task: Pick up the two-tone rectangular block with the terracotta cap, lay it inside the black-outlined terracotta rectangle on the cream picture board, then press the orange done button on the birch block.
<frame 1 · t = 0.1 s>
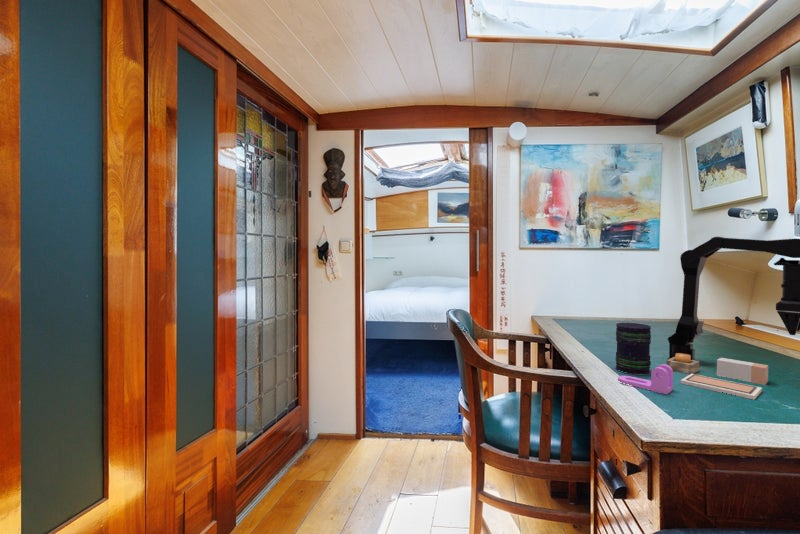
hand: (794, 333, 112), 15 cm above the table, tool pointing down, fingers open, 9 cm apart
two-tone rectangular block: (741, 378, 115), on the table
picture board: (720, 387, 107), on the table
bracket: (643, 387, 109), on the table
storage jar: (632, 371, 123), on the table
button block: (682, 369, 124), on the table
done button: (682, 359, 124), point 3 cm above the table, slide at 0.0 cm
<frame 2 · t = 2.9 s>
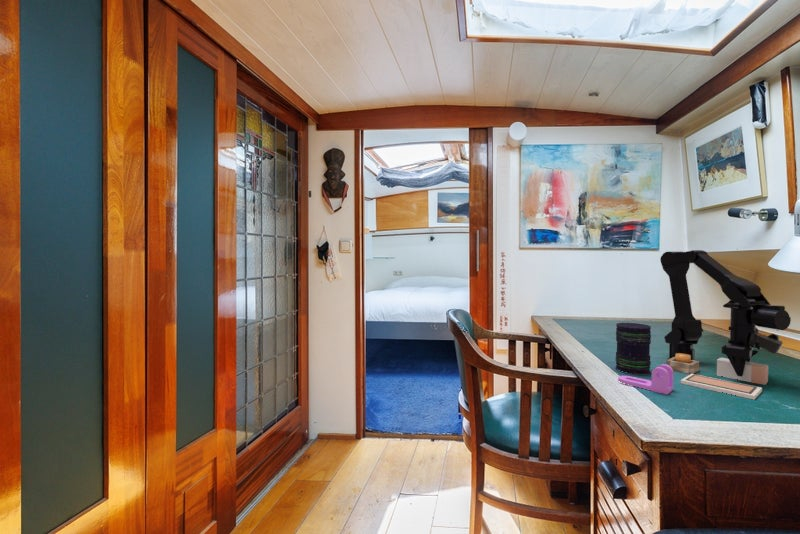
hand: (741, 374, 115), 1 cm above the table, tool pointing down, fingers closed on two-tone rectangular block, 4 cm apart
two-tone rectangular block: (741, 378, 115), on the table, touching gripper
everything else where it was.
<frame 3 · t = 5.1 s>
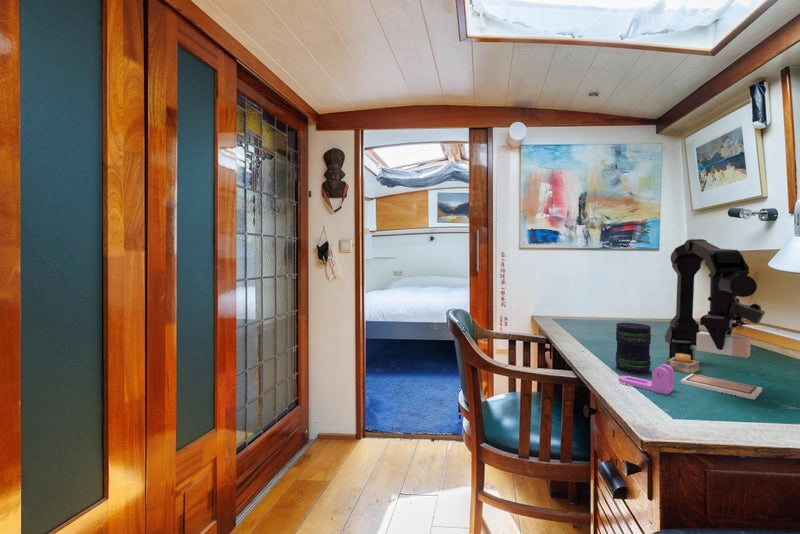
hand: (722, 348, 107), 11 cm above the table, tool pointing down, fingers closed on two-tone rectangular block, 4 cm apart
two-tone rectangular block: (722, 352, 107), point 10 cm above the table, touching gripper
everything else where it was.
when the fingers open (4 cm above the table, at t = 7.3 s): two-tone rectangular block drops 1 cm, resting on picture board.
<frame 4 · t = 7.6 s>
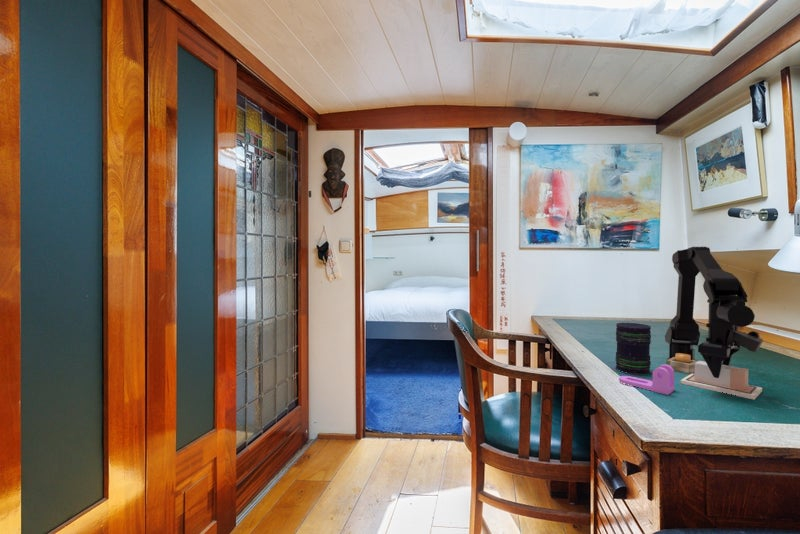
hand: (720, 374, 107), 4 cm above the table, tool pointing down, fingers open, 8 cm apart
two-tone rectangular block: (720, 383, 107), point 1 cm above the table, touching picture board
everything else where it was.
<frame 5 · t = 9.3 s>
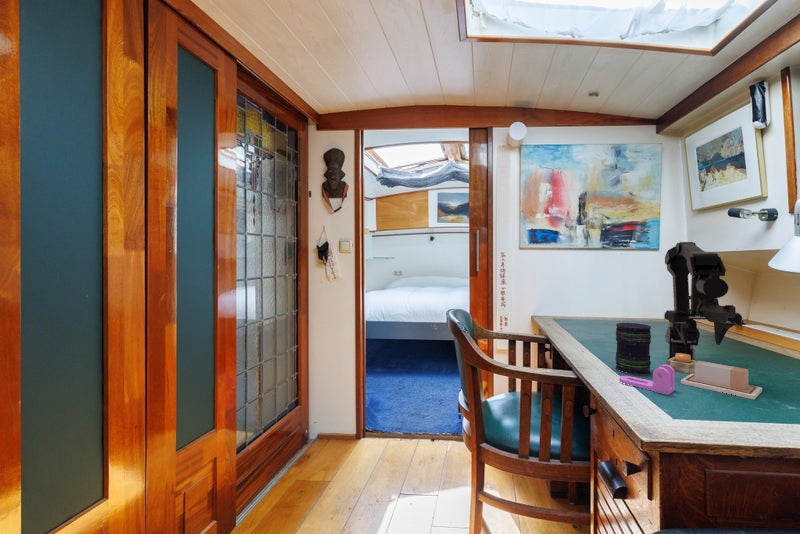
hand: (701, 344, 115), 10 cm above the table, tool pointing down, fingers open, 9 cm apart
nothing on the table moved.
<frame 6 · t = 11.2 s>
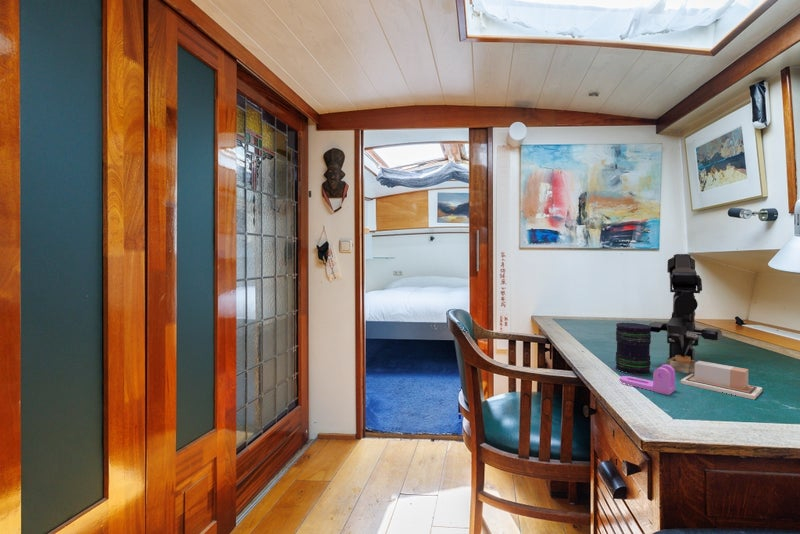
hand: (683, 356, 124), 4 cm above the table, tool pointing down, fingers closed, pressing on done button
done button: (682, 360, 124), point 3 cm above the table, slide at 0.5 cm, touching gripper
everything else where it was.
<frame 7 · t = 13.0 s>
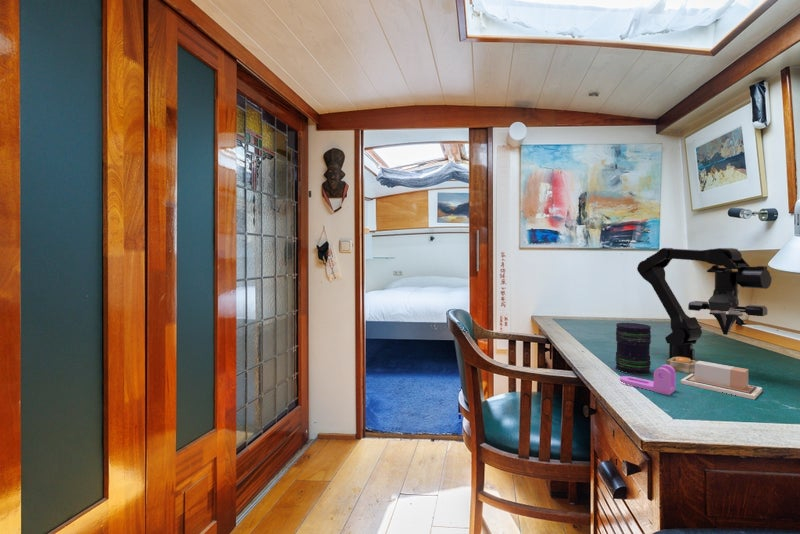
hand: (725, 334, 122), 12 cm above the table, tool pointing down, fingers closed
done button: (682, 362, 124), point 2 cm above the table, slide at 1.1 cm
everything else where it was.
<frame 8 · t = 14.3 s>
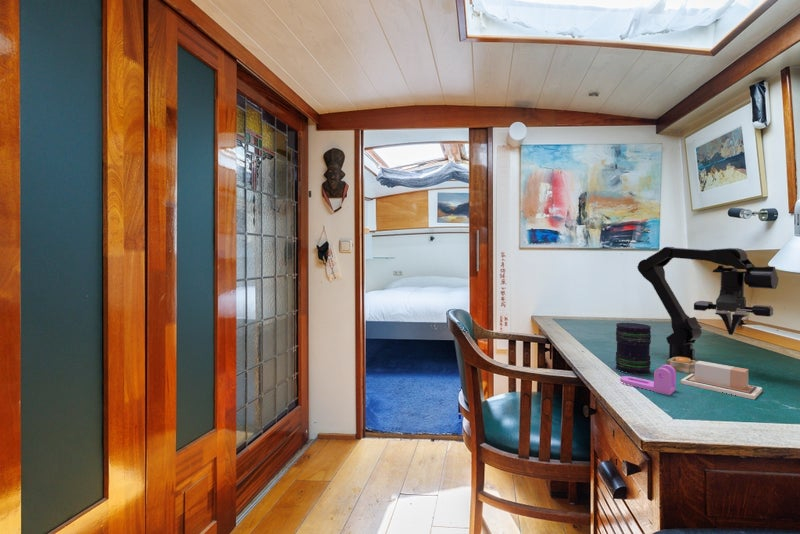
hand: (731, 334, 122), 12 cm above the table, tool pointing down, fingers closed
nothing on the table moved.
at the end: two-tone rectangular block 0.1 cm off-centre on the picture board, point 1.1 cm above the picture board's base; two-tone rectangular block tilted 0°; done button slide at 1.1 cm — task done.
